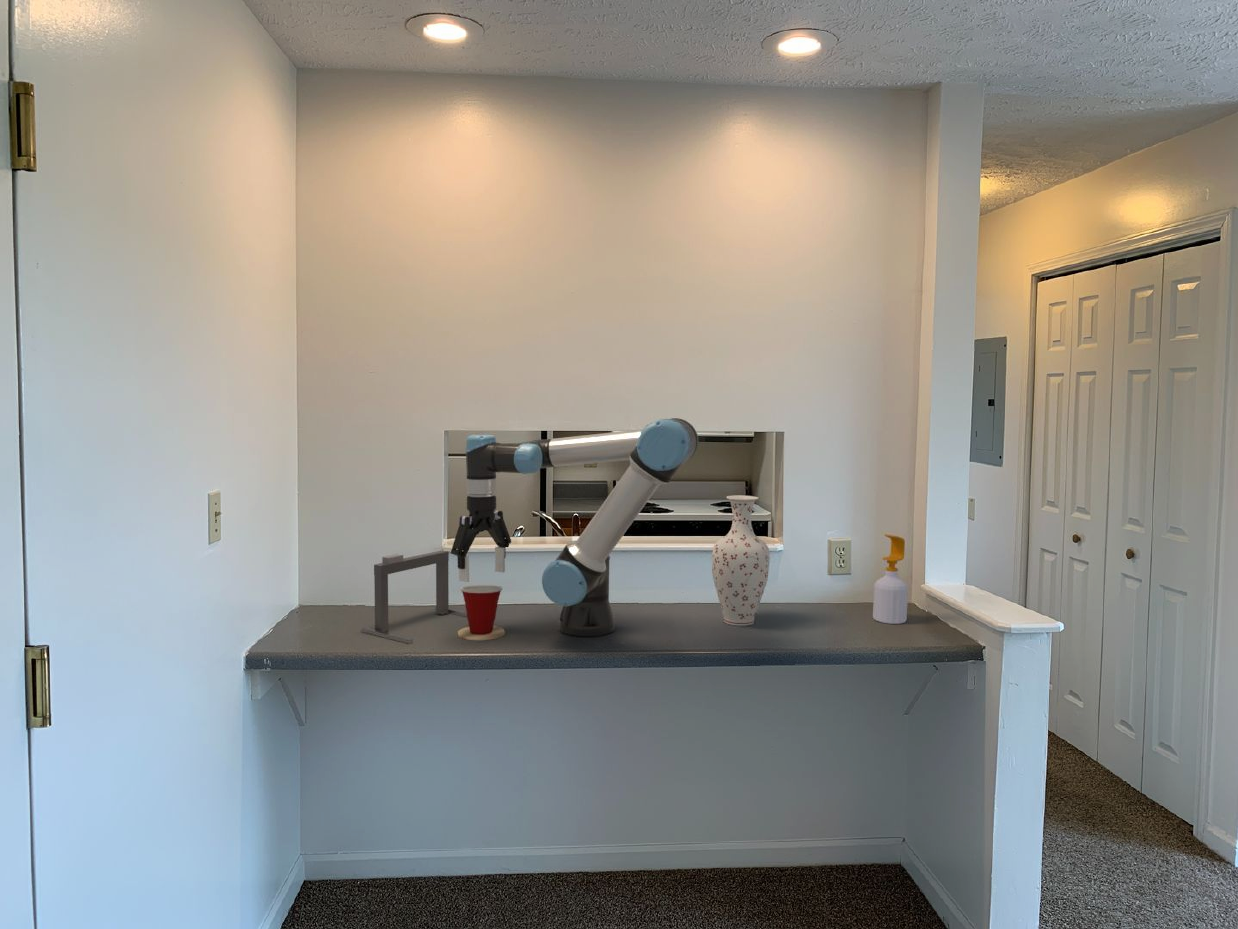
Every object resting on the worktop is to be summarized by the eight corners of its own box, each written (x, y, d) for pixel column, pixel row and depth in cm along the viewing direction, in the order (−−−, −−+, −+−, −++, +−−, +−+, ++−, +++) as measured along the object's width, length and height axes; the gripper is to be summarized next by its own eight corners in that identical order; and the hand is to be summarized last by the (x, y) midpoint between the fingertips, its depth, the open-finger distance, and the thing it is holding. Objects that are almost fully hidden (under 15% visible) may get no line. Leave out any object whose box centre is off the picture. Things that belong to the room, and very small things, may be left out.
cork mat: (513, 632, 226) (514, 630, 225) (482, 643, 216) (482, 641, 215) (479, 625, 232) (479, 622, 232) (448, 635, 222) (448, 633, 222)
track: (485, 619, 238) (485, 615, 238) (409, 643, 214) (409, 640, 214) (438, 609, 247) (438, 606, 247) (361, 631, 224) (360, 628, 224)
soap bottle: (866, 619, 243) (870, 533, 241) (884, 614, 250) (887, 530, 247) (895, 626, 237) (899, 538, 235) (912, 620, 243) (916, 535, 241)
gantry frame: (448, 612, 243) (448, 545, 241) (381, 632, 222) (380, 559, 221) (442, 611, 244) (441, 544, 242) (374, 631, 224) (373, 558, 222)
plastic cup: (504, 626, 229) (505, 582, 228) (499, 638, 218) (499, 591, 217) (464, 625, 229) (464, 581, 228) (456, 637, 218) (456, 591, 217)
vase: (699, 617, 243) (702, 494, 240) (748, 611, 250) (751, 492, 247) (728, 632, 229) (732, 502, 226) (779, 626, 235) (783, 499, 232)
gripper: (502, 489, 233) (503, 566, 235) (435, 499, 212) (437, 583, 214) (523, 491, 229) (524, 569, 231) (457, 501, 208) (459, 587, 210)
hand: (482, 576), depth 222 cm, fingers open, 13 cm apart
